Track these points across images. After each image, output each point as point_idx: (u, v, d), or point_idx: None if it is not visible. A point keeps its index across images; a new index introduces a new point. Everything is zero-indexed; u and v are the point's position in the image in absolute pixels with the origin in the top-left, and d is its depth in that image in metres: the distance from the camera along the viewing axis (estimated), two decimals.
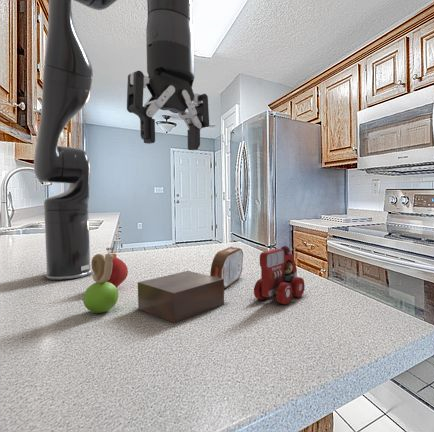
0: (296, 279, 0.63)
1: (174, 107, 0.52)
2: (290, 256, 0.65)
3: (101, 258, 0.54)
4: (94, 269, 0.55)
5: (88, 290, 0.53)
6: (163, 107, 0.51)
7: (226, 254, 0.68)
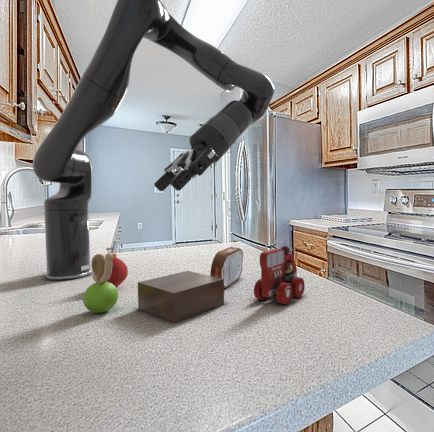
0: (296, 279, 0.63)
1: None
2: (290, 256, 0.65)
3: (101, 258, 0.54)
4: (94, 269, 0.55)
5: (88, 290, 0.53)
6: None
7: (226, 254, 0.68)
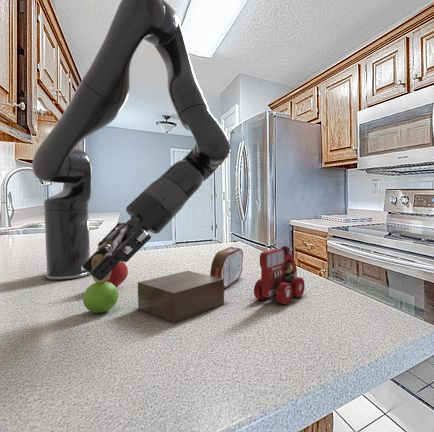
0: (296, 279, 0.63)
1: None
2: (290, 256, 0.65)
3: (101, 258, 0.54)
4: None
5: (88, 290, 0.53)
6: None
7: (226, 254, 0.68)
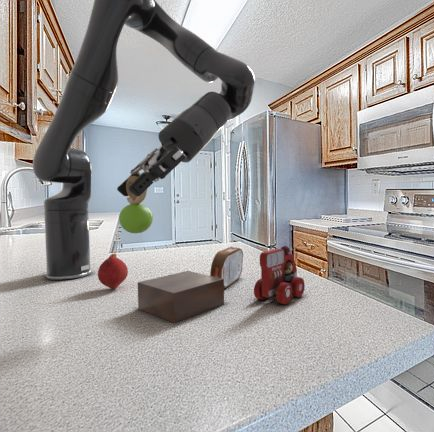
0: (296, 279, 0.63)
1: None
2: (290, 256, 0.65)
3: (136, 178, 0.54)
4: (129, 191, 0.56)
5: (124, 209, 0.54)
6: None
7: (226, 254, 0.68)
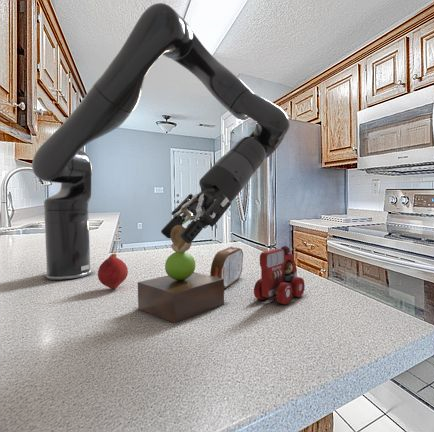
0: (296, 279, 0.63)
1: None
2: (290, 256, 0.65)
3: (182, 228, 0.57)
4: (173, 239, 0.58)
5: (171, 258, 0.56)
6: None
7: (226, 254, 0.68)
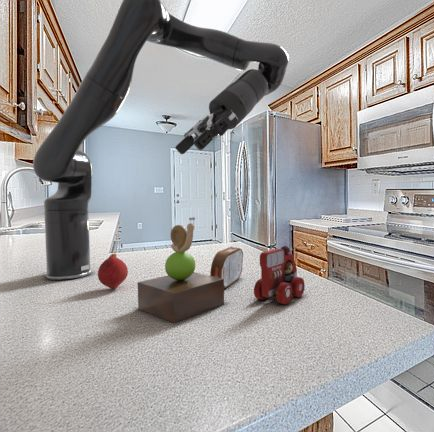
0: (296, 279, 0.63)
1: None
2: (290, 256, 0.65)
3: (182, 228, 0.57)
4: (173, 239, 0.58)
5: (171, 258, 0.56)
6: None
7: (226, 254, 0.68)
